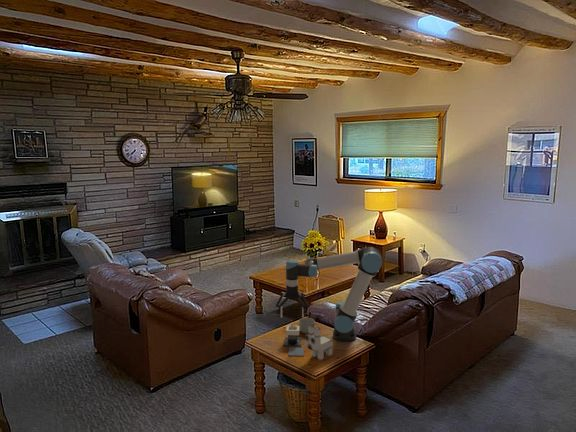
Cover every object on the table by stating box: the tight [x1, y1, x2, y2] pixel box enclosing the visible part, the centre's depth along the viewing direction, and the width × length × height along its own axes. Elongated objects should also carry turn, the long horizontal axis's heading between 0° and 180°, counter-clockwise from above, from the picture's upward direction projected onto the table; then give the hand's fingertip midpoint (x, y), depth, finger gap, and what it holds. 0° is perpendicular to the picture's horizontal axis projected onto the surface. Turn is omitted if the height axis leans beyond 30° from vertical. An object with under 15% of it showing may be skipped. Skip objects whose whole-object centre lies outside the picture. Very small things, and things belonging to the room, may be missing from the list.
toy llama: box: [304, 325, 333, 362], centre depth 252 cm, size 8×18×20 cm, turn 131°
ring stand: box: [283, 324, 303, 348], centre depth 271 cm, size 11×11×12 cm
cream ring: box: [285, 324, 301, 336], centre depth 270 cm, size 8×8×3 cm
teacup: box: [298, 316, 316, 334], centre depth 289 cm, size 14×11×8 cm
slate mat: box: [288, 347, 305, 357], centre depth 259 cm, size 9×10×1 cm
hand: (292, 317), depth 269 cm, fingers open, 13 cm apart
